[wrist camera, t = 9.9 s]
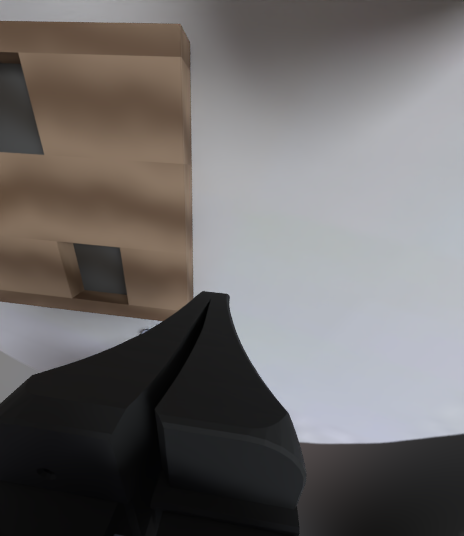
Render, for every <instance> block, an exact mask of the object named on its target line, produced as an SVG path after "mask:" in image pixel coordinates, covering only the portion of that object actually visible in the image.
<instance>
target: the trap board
mask: <svg viewBox="0 0 464 536" xmlns="http://www.w3.org/2000/svg"><path fill="white" fill-rule="evenodd" d="M192 299H193V238H192V161H191V84H190V42H189V40H188V38H187V36H186V34H185V32H184V30H183V28H182V26H181V24H157V23H94V22H31V21H0V301H1V302H9V303H17V304H26V305H34V306H42V307H50V308H59V309H67V310H75V311H83V312H92V313H100V314H108V315H116V316H125V317H133V318H141V319H149V320H158V321H164V320H166V319H167V318H168V317H170V316H171V315H173V314H174V313H176V312H177V311H178V310H180V309H181V308H182V307H183V306H185V305H186V304H187V303H189V302H190V301H191V300H192Z"/></svg>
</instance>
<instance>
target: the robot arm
mask: <svg viewBox="0 0 464 536" xmlns="http://www.w3.org/2000/svg"><path fill="white" fill-rule="evenodd" d="M229 299H230V296H229V295H228V294H223V293H214V292H205V291H202V292H201V293H200V294H198V295H197V296H196V297H195V298H193V299H192V300H191V301H190V302H189V303H187V304H186V305H185V306H183V307H182V308H181V309H180V310H178V311H177V312H176V313H174V314H173V315H171V316H170V317H168V318H167V319H166V320H164V321H163V322H161V323H160V324H158V325H156V326H155V327H153V328H151V329H149V330H144V331H143V332H142V333H141V334H140V335H138V336H136V337H134V338H132V339H130V340H128V341H126V342H124V343H122V344H119V345H117V346H115V347H113V348H111V349H108V350H106V351H103V352H101V353H98V354H96V355H93V356H90V357H87V358H85V359H82V360H79V361H76V362H73V363H70V364H67V365H64V366H61V367H58V368H54V369H51V370H48V371H45V372H42V373H38V374H35V375H32V376H31V377H30V378H29V379H27V380H26V381H25V382H24V383H23V384H22V385H21V386H20V387H19V388H17V389H16V390H15V391H14V392H13V393H12V394H11V395H9V396H8V397H7V398H6V399H5V400H4V401H3V402H2V403H1V404H0V536H299V521H298V512H297V504H298V501H299V498H300V496H301V494H302V491H303V488H304V486H305V482H306V469H305V463H304V459H303V455H302V451H301V448H300V444H299V441H298V438H297V435H296V431H295V429H294V426H293V423H292V420H291V418H290V415H289V413H288V412H287V411H286V410H285V409H284V407H283V406H282V405H281V404H280V403H279V401H278V400H277V399H276V398H275V396H274V395H273V394H272V392H271V391H270V390H269V388H268V387H267V386H266V384H265V383H264V382H263V380H262V379H261V377H260V376H259V374H258V373H257V371H256V369H255V368H254V366H253V365H252V363H251V361H250V360H249V358H248V356H247V354H246V352H245V351H244V349H243V346H242V344H241V342H240V340H239V338H238V335H237V333H236V330H235V327H234V324H233V321H232V317H231V313H230V308H229Z"/></svg>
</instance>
